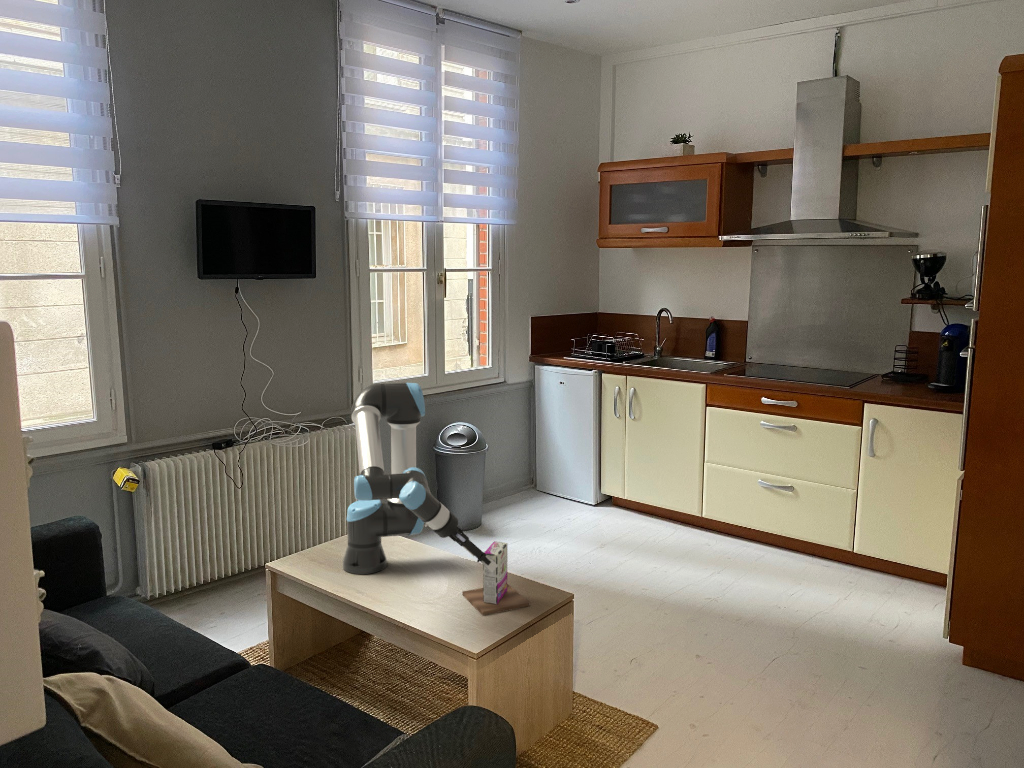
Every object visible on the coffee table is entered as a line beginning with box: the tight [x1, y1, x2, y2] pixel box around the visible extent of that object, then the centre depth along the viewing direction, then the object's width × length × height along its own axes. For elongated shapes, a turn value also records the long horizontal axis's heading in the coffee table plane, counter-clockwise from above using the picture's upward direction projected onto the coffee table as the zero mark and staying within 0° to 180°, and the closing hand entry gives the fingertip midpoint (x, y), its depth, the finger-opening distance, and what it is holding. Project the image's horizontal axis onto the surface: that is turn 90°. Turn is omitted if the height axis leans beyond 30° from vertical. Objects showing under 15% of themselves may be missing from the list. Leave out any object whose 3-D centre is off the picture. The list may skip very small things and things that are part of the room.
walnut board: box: [462, 583, 530, 616], centre depth 250 cm, size 16×16×1 cm
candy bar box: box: [482, 541, 509, 604], centre depth 248 cm, size 11×5×16 cm, turn 163°
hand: (485, 560), depth 245 cm, fingers open, 13 cm apart
